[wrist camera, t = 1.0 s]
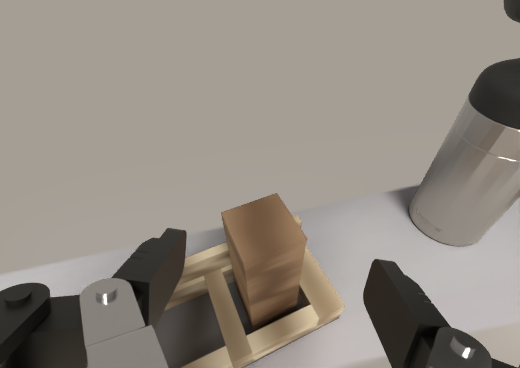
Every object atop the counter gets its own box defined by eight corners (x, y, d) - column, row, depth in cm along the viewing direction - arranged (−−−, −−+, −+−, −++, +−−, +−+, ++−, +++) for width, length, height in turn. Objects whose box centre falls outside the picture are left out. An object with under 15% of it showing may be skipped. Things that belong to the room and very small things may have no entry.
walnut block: (275, 271, 34) (276, 193, 24) (295, 310, 31) (307, 237, 21) (236, 288, 32) (220, 212, 23) (253, 331, 29) (243, 264, 19)
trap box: (294, 245, 37) (297, 214, 32) (339, 317, 30) (350, 292, 26) (58, 343, 29) (19, 321, 25) (50, 467, 23) (-5, 468, 18)
